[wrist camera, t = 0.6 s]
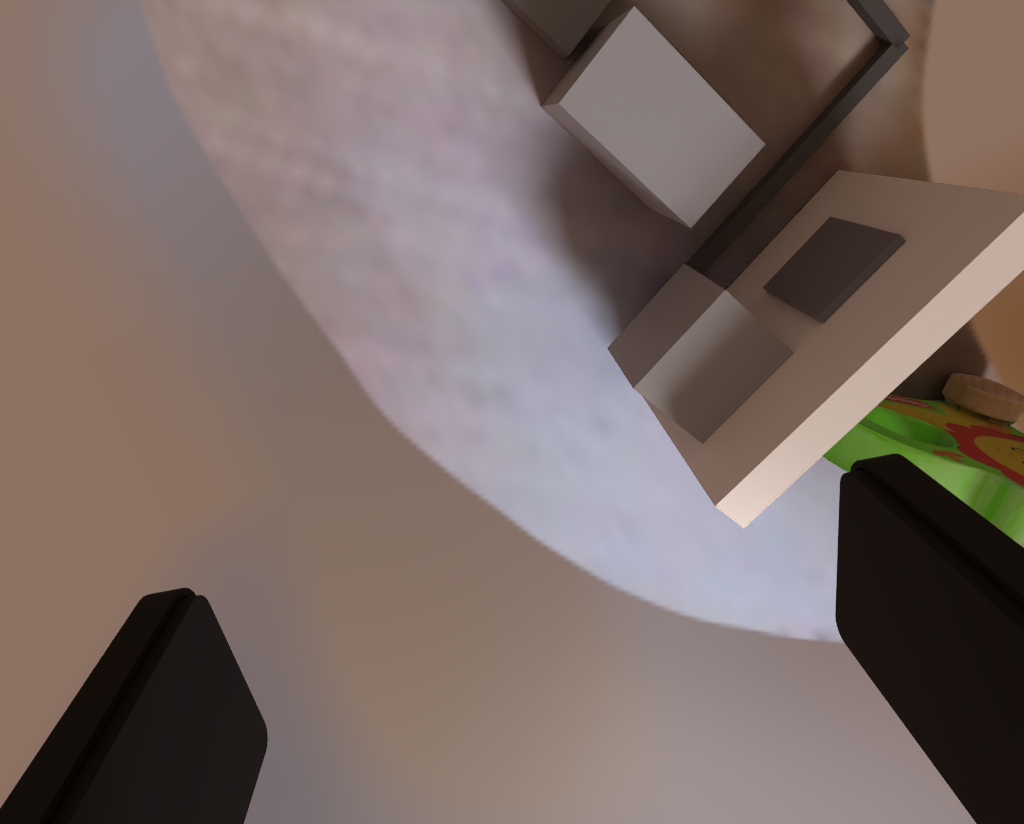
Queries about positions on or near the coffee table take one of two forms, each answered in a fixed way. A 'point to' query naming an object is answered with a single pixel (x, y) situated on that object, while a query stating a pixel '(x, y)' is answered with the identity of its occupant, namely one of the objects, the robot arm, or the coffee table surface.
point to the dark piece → (814, 128)
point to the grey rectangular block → (652, 119)
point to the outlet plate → (816, 327)
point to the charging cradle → (558, 20)
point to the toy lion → (953, 445)
